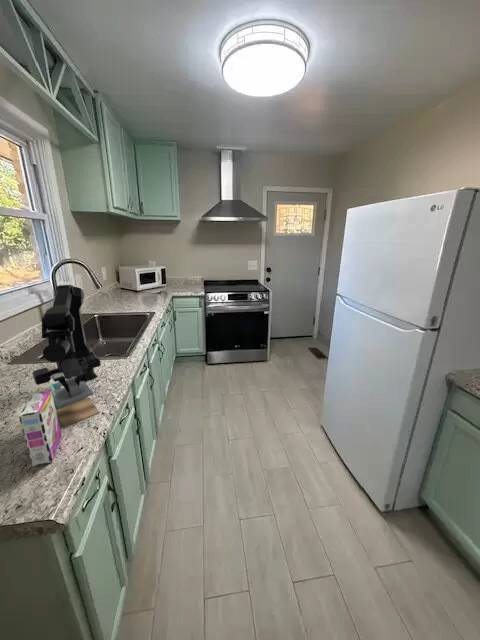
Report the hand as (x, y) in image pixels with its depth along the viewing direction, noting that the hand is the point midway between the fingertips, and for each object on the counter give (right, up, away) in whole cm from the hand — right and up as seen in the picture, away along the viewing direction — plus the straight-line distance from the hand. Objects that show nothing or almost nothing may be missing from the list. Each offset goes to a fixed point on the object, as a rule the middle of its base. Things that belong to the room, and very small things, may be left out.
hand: (72, 390), depth 92 cm
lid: (0, -2, +1) cm, 2 cm away
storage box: (-8, -6, +11) cm, 15 cm away
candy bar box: (+2, -14, -14) cm, 20 cm away
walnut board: (0, -8, +3) cm, 9 cm away
